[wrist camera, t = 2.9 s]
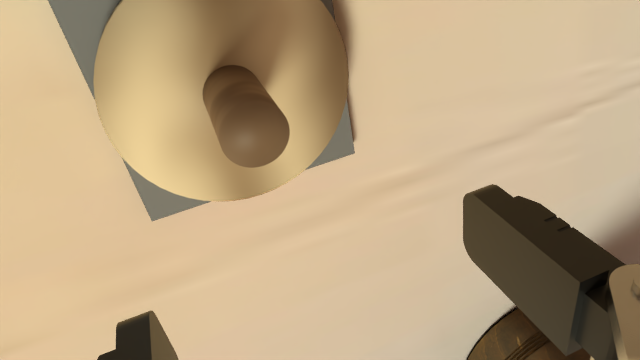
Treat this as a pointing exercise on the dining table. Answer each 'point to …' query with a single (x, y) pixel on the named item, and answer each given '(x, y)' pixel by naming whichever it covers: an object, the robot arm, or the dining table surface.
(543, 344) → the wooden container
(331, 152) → the mat
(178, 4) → the lid
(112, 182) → the dining table surface
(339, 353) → the dining table surface
